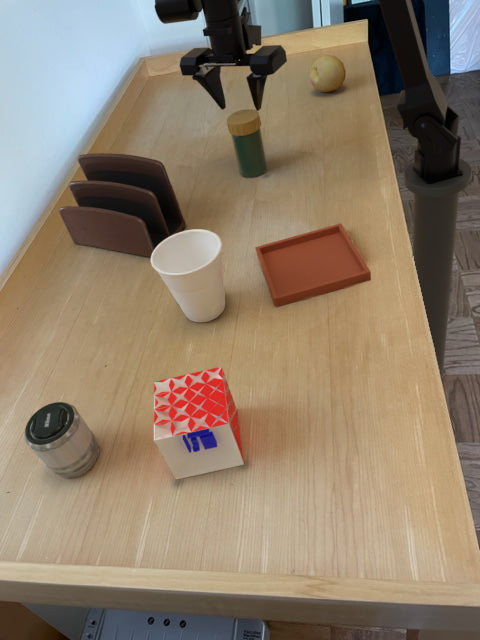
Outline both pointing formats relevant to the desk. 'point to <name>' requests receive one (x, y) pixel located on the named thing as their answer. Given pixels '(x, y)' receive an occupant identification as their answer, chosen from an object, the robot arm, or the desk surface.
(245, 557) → the desk surface
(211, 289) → the cup
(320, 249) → the tray
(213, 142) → the desk surface
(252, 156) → the jar
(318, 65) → the fruit
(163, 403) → the red white patterned cube
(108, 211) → the letter holder
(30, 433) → the camera lens
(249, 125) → the lid
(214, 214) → the desk surface
